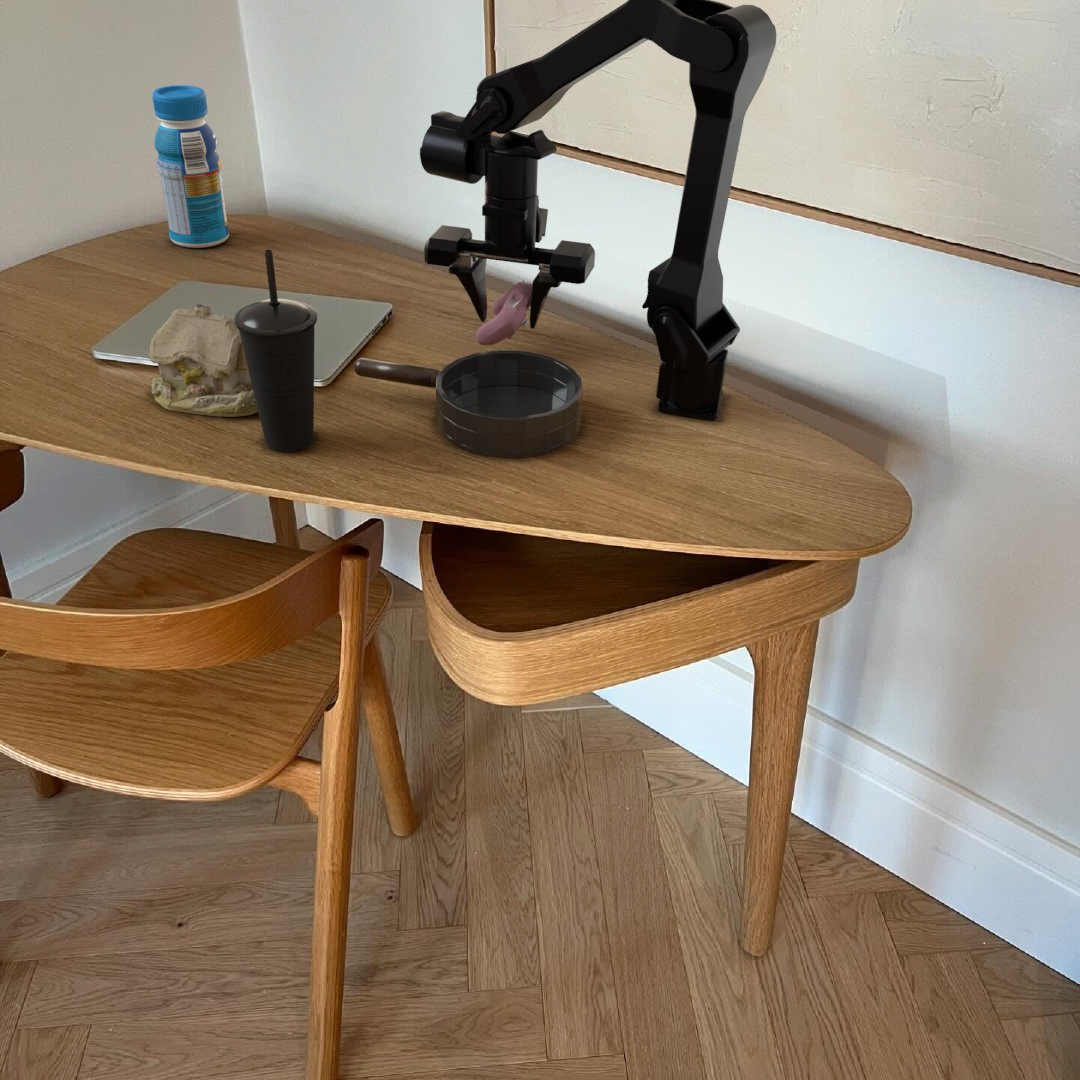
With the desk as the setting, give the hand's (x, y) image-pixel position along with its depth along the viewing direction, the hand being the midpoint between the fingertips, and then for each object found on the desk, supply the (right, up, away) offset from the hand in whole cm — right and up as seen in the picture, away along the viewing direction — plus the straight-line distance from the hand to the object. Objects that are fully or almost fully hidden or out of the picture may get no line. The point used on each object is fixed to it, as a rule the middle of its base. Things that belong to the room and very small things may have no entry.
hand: (508, 323), depth 129 cm
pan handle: (-11, -8, -12) cm, 19 cm away
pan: (0, -13, -13) cm, 18 cm away
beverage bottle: (-45, +17, +26) cm, 55 cm away
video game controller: (0, -1, +1) cm, 1 cm away
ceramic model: (-32, -9, -10) cm, 34 cm away
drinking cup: (-22, -15, -17) cm, 32 cm away
